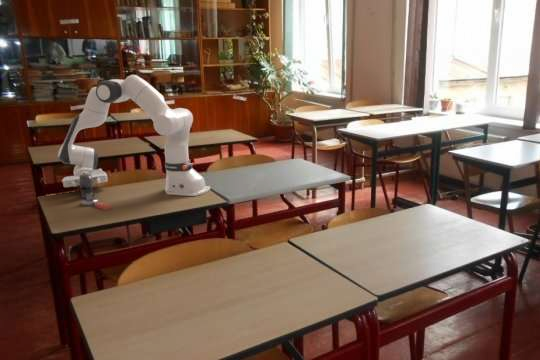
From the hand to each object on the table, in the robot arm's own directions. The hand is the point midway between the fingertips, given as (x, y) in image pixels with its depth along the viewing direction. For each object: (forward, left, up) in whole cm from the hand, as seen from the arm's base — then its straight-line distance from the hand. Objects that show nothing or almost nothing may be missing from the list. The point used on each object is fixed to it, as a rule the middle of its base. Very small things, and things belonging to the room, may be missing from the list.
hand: (86, 183), depth 224 cm
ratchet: (-15, +9, -6) cm, 19 cm away
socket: (0, +1, -6) cm, 6 cm away
